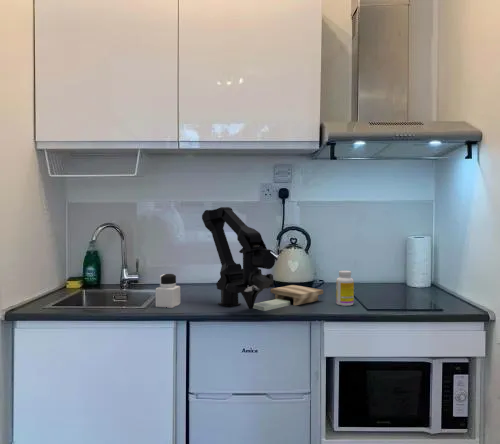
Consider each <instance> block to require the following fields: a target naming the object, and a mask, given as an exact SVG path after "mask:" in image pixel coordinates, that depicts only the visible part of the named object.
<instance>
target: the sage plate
mask: <svg viewBox="0 0 500 444" xmlns="http://www.w3.org/2000/svg"><path fill="white" fill-rule="evenodd" d="M289 306H291V301H290V300H281V299H275V298H274V299H271V300H265V301H261V302H255V303H254V306H253V308H252V309H254V310H255V309H256V310H259V311H264V312H265V311H270V310H276V309H279V308H283V307H289Z"/></svg>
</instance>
